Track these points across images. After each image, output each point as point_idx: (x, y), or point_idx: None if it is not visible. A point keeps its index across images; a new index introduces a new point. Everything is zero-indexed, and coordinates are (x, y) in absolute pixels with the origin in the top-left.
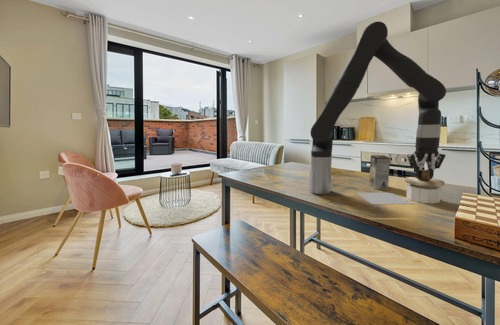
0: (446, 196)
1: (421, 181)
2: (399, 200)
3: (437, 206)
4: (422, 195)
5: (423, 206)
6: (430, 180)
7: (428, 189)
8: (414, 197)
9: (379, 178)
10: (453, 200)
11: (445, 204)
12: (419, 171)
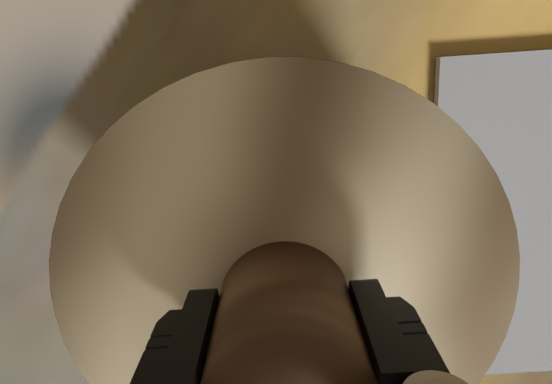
0: (20, 311)
1: (369, 223)
2: (506, 156)
3: (253, 28)
4: None
5: (376, 22)
6: (204, 285)
7: None
8: None
9: None
10: (21, 206)
11: (150, 91)
12: (416, 368)
